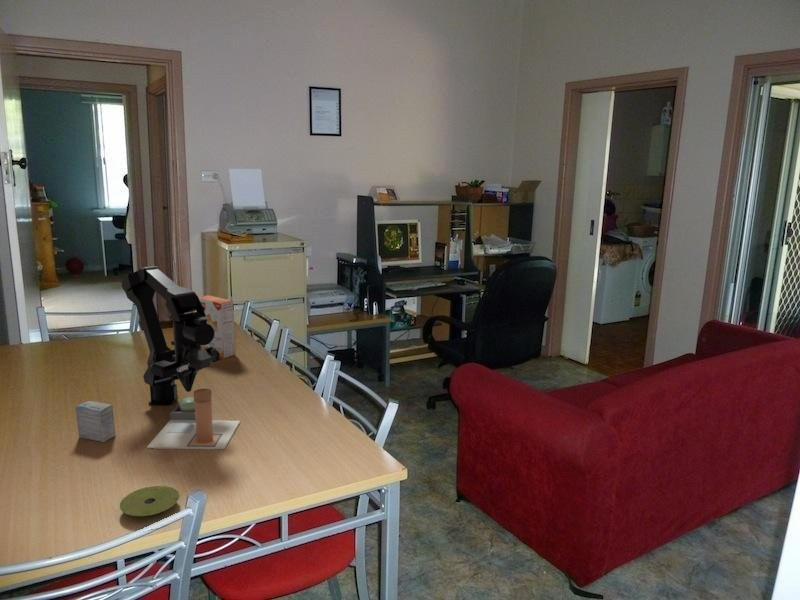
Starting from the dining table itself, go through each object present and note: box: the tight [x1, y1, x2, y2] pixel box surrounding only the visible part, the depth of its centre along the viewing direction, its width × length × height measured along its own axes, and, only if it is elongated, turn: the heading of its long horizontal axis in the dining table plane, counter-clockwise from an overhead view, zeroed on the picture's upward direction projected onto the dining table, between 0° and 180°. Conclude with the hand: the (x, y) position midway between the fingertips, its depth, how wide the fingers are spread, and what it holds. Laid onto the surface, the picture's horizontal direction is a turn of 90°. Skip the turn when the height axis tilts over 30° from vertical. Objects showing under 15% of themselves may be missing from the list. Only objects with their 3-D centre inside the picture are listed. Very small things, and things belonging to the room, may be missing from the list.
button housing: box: [169, 401, 195, 421], centre depth 167 cm, size 8×8×2 cm
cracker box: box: [198, 294, 236, 360], centre depth 218 cm, size 14×6×21 cm, turn 55°
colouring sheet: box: [146, 419, 241, 450], centre depth 155 cm, size 19×16×1 cm
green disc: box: [119, 485, 180, 517], centre depth 122 cm, size 11×11×2 cm
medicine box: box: [75, 400, 117, 443], centre depth 152 cm, size 8×4×9 cm, turn 71°
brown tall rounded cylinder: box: [193, 388, 213, 443], centre depth 150 cm, size 4×4×13 cm
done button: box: [179, 396, 195, 412], centre depth 166 cm, size 5×5×3 cm
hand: (188, 391), depth 166 cm, fingers closed
